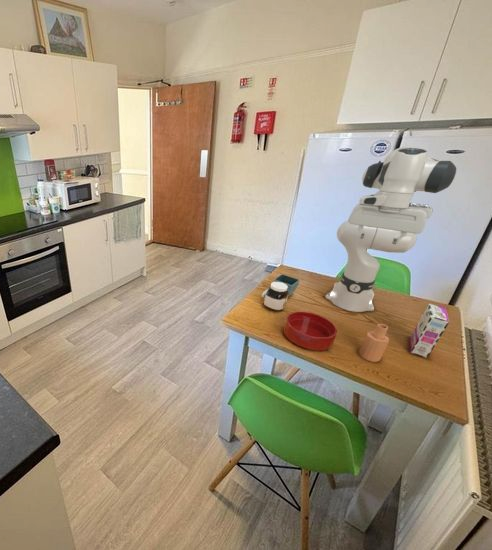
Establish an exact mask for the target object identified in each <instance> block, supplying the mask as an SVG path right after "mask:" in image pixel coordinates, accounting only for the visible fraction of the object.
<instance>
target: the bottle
mask: <svg viewBox="0 0 492 550" xmlns="http://www.w3.org/2000/svg"><path fill="white" fill-rule="evenodd" d="M388 329H389V326H388V325H386V324H384V323H377V325H376V327H375V330H368V331H367V332H366V334H365V337H364V339H363V341H362V343H361V346H360V348H359V350H358V354H359V356H360V357H361V358H363V359H364V360H366V361H368V362H373V363H377V362H379V361H380V360H381V359H382V357H383V355H384V352H385V351H386V348H387V347H388V344H389V343H390V338H389V336H387V335H386V334H387V331H388Z"/></svg>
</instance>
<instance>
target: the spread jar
mask: <svg viewBox="0 0 492 550" xmlns="http://www.w3.org/2000/svg"><path fill="white" fill-rule="evenodd" d="M287 288H288V286H287V285H286V284H284V283H281V282H274V281H273V282H271V283H270V287H268V289H265V290H264V291H263V292H262V294H261V297H262V299H263V305H264V306H265V308H267V309H268V310H270V311H272V312H280V311H283V309H284V308H285V306H286V305H287V302H288V298H289V297H288V290H287Z"/></svg>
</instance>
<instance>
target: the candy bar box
mask: <svg viewBox="0 0 492 550" xmlns="http://www.w3.org/2000/svg"><path fill="white" fill-rule="evenodd" d="M449 324H450V318H449V315H448V311H447V307H444V306H441V305H437V304H433V303H428V304H427V306H426V308H425V310H424V312H423V313H422V315H421V317H420V319H419V321H418V323H417V324H416V326H415V328H414V329H413V332H412V333H411V335H410V337H409V344H410V345H409V347H410V354H413V355H415V356H416V355H417V356H419V357H422V358H425V359H428V358H429V356H430V355H431V353H432V352H433V350H434V348H435V347H436V345H437V344H438V342H439V340H440V338H441V337H442V335H443V334H444V332H445V330H446V329H447V327H448V325H449Z"/></svg>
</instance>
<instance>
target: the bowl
mask: <svg viewBox="0 0 492 550" xmlns="http://www.w3.org/2000/svg"><path fill="white" fill-rule="evenodd" d="M283 334H284V335H285V337H286V338H287V339H288V340H289V342H291V343H293V344H295V345H296V346H298V347H301V348H304V349H306V350H311V351H325V350H329V349H330V348H332V347H333V345H334V342H335V339H336V337H337V334H338V328H337V326H336V325H335V324H334V323H333V322H332V321H331V320H329V319H328V318H326V317H325V316H323V315H320V314H317V313H314V312H310V311H293V312H290V313H288V314H287V316H286V318H285V321H284V325H283Z"/></svg>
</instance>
